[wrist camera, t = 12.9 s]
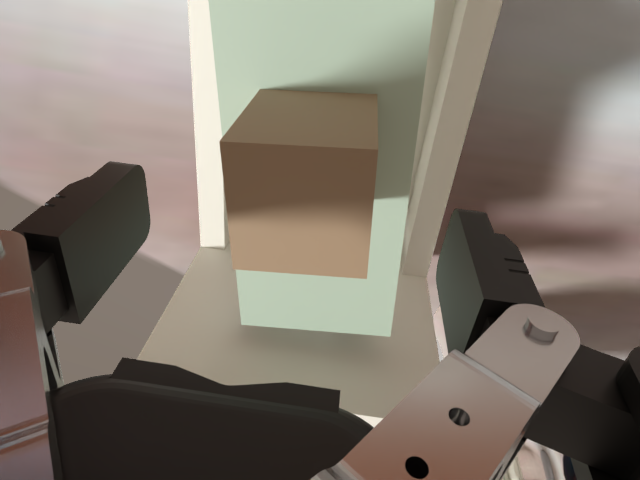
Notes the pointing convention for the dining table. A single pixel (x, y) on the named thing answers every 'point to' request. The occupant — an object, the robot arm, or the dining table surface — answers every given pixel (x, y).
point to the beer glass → (533, 459)
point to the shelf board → (337, 65)
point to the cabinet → (418, 246)
